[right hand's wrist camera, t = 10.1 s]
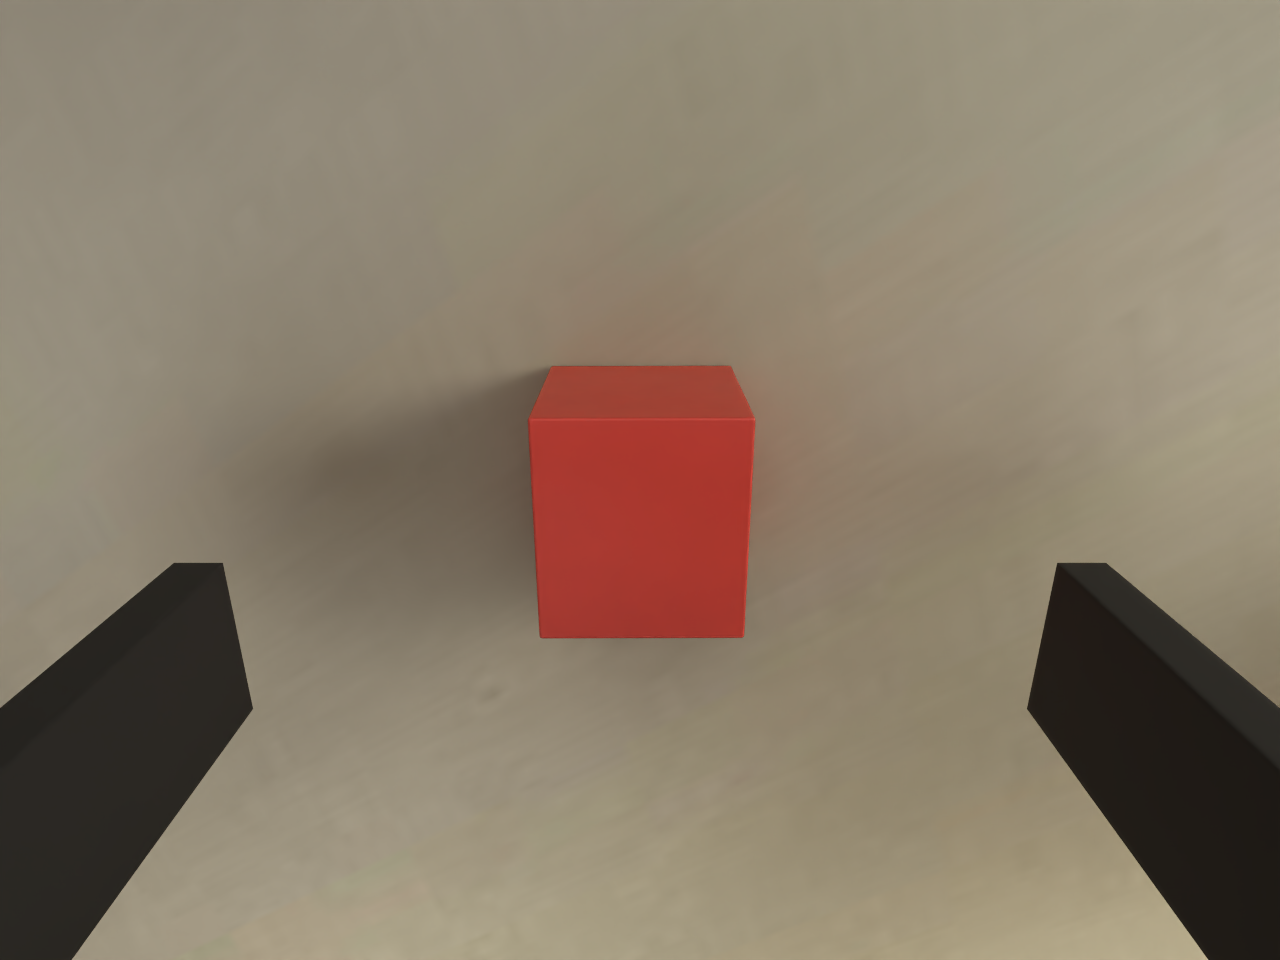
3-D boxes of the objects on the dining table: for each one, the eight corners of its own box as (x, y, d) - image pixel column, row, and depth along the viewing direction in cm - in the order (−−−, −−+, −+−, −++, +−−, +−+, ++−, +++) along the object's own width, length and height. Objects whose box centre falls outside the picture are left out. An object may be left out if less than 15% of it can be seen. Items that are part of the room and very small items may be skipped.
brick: (558, 548, 20) (539, 639, 16) (550, 365, 19) (527, 418, 15) (723, 548, 20) (744, 638, 16) (731, 365, 19) (755, 417, 15)
